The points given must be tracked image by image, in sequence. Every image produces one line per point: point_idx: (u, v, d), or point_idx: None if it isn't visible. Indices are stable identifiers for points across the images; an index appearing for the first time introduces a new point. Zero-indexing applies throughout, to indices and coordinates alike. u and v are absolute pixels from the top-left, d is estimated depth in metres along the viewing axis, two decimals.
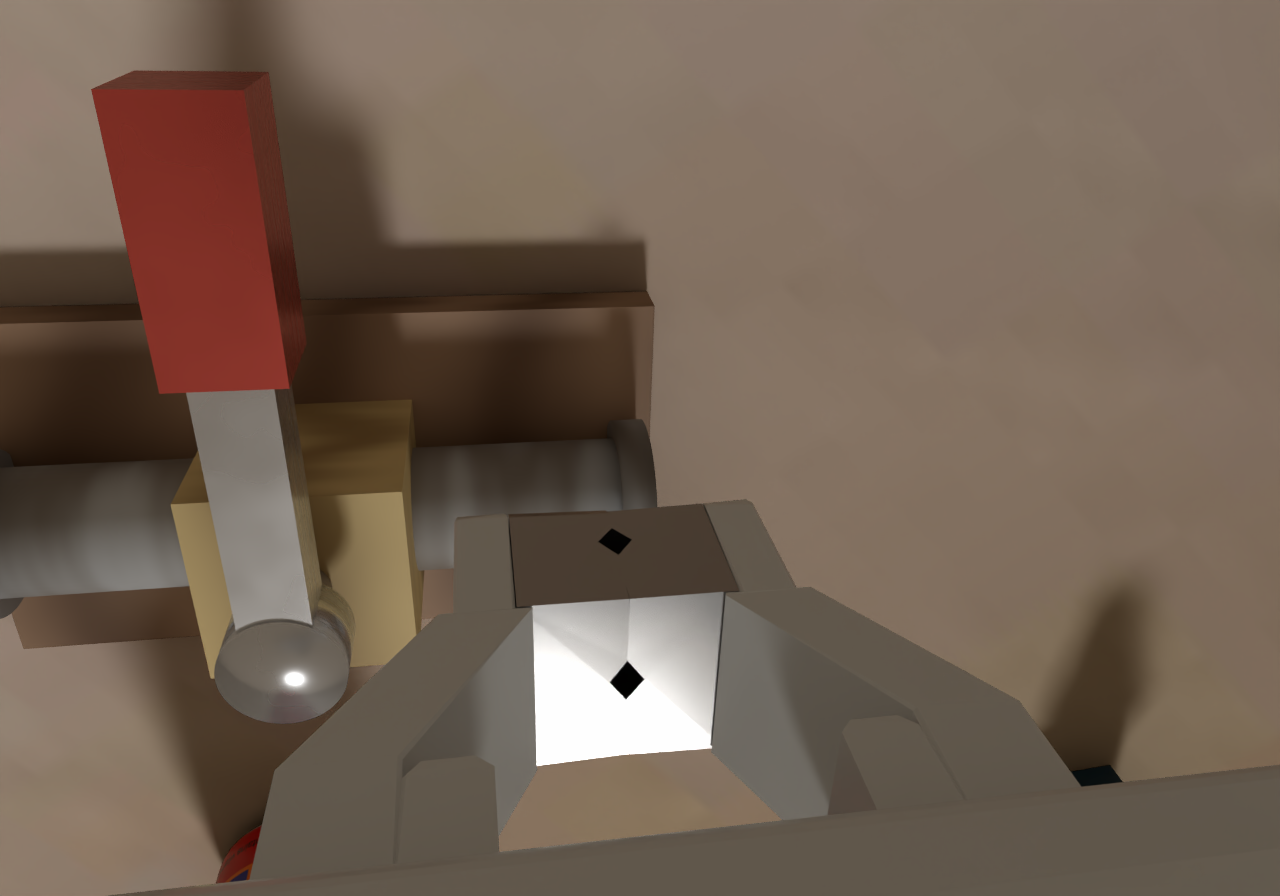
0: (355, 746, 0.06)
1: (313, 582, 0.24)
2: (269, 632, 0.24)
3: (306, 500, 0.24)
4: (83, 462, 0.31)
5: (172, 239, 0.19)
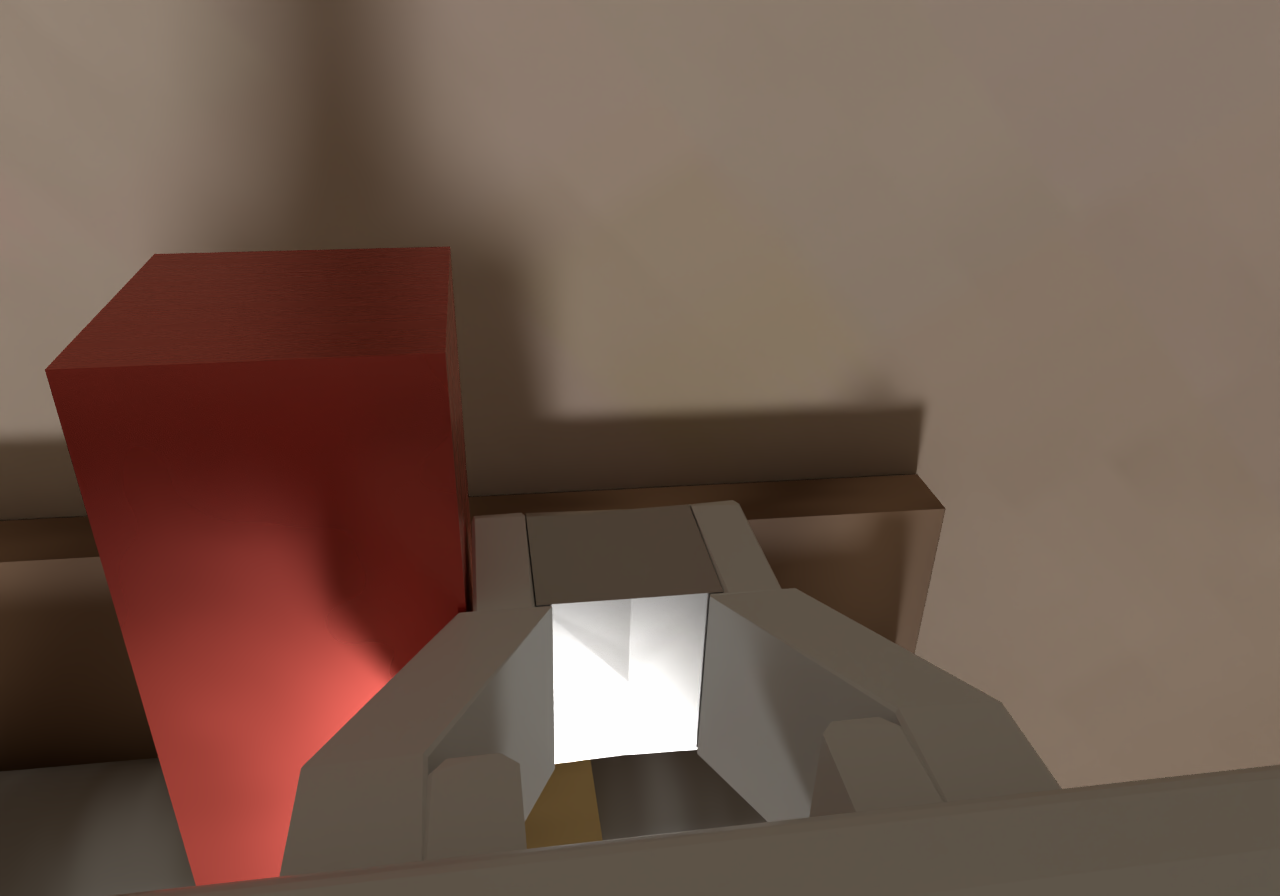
0: (380, 743, 0.06)
1: None
2: None
3: None
4: (72, 750, 0.20)
5: (251, 678, 0.08)
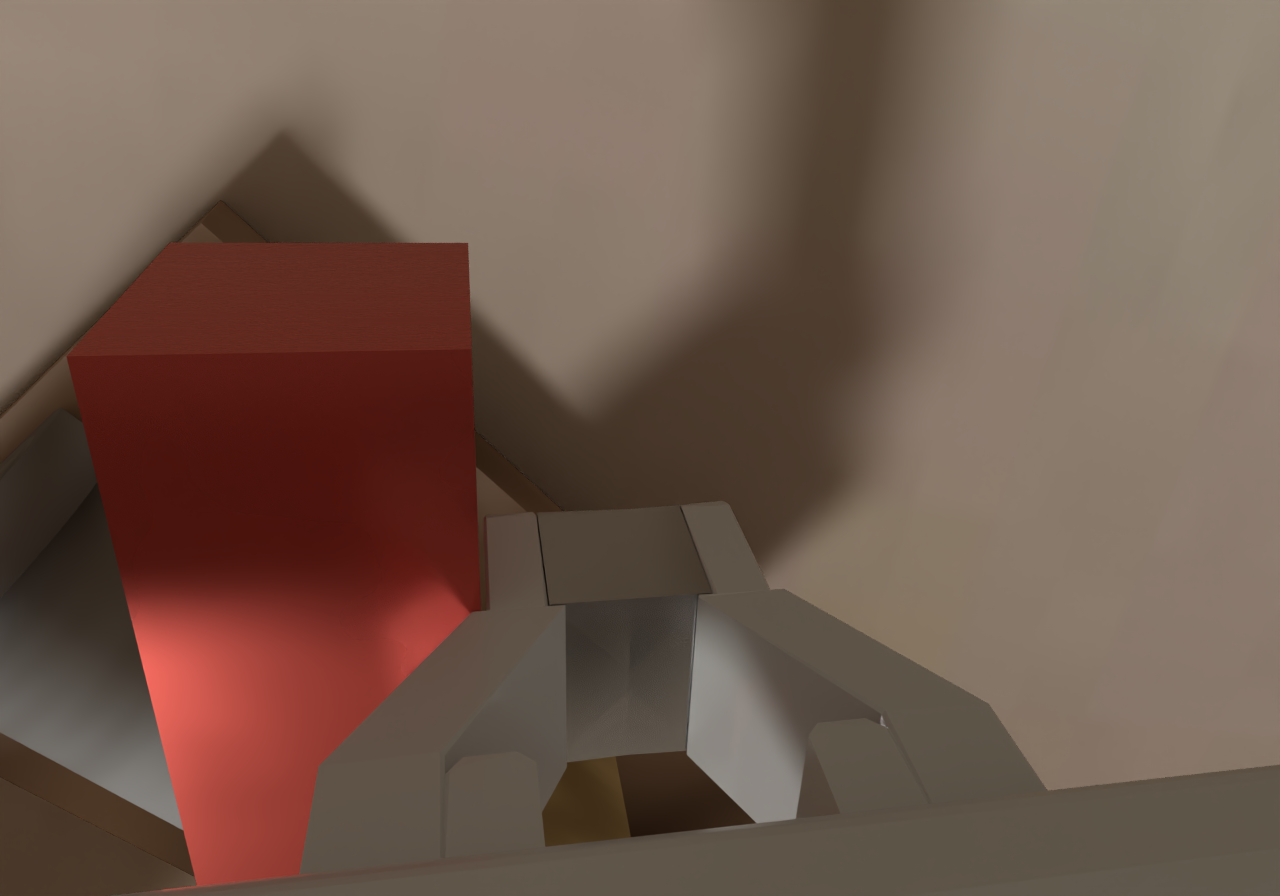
0: (397, 742, 0.06)
1: None
2: None
3: None
4: None
5: (262, 673, 0.08)
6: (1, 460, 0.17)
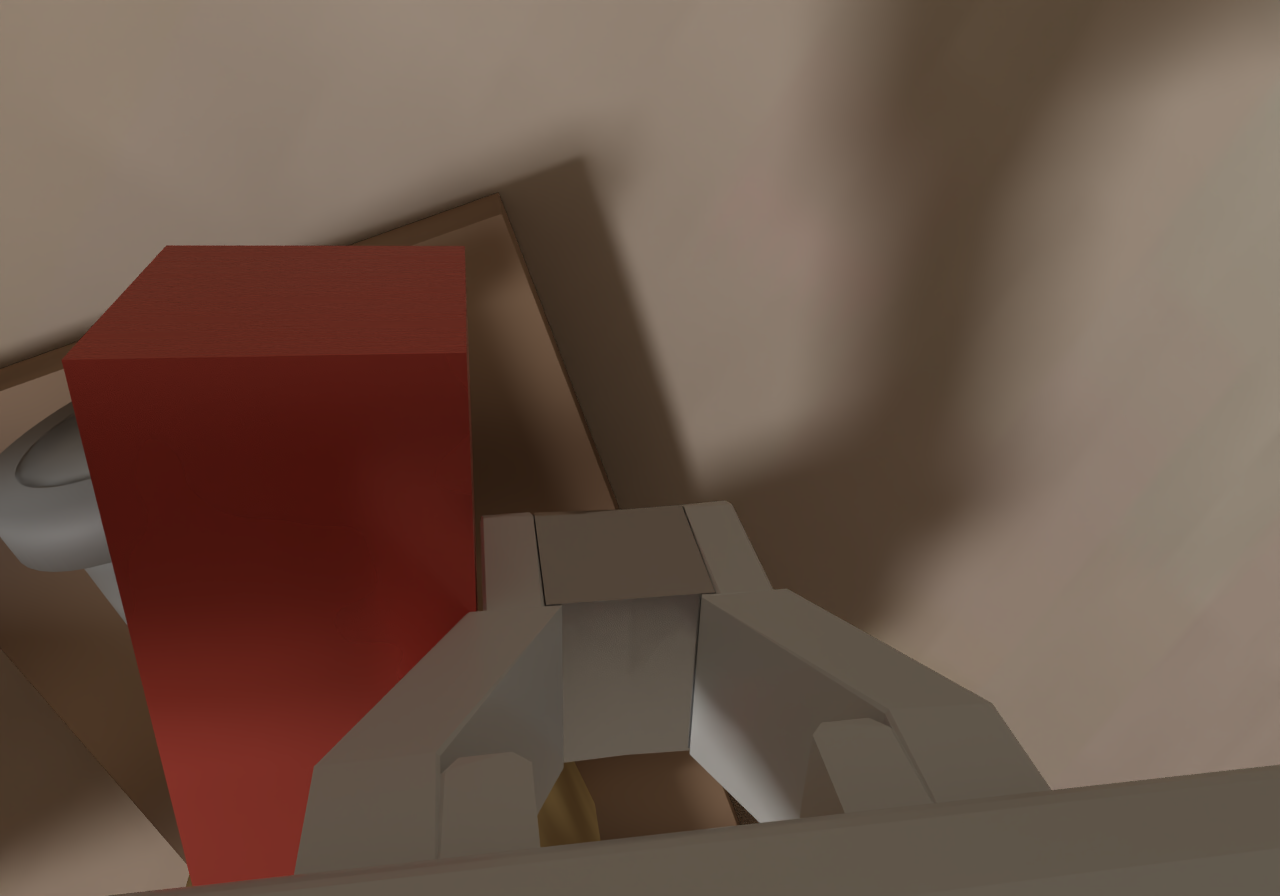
0: (392, 743, 0.06)
1: None
2: None
3: None
4: None
5: (257, 677, 0.08)
6: None
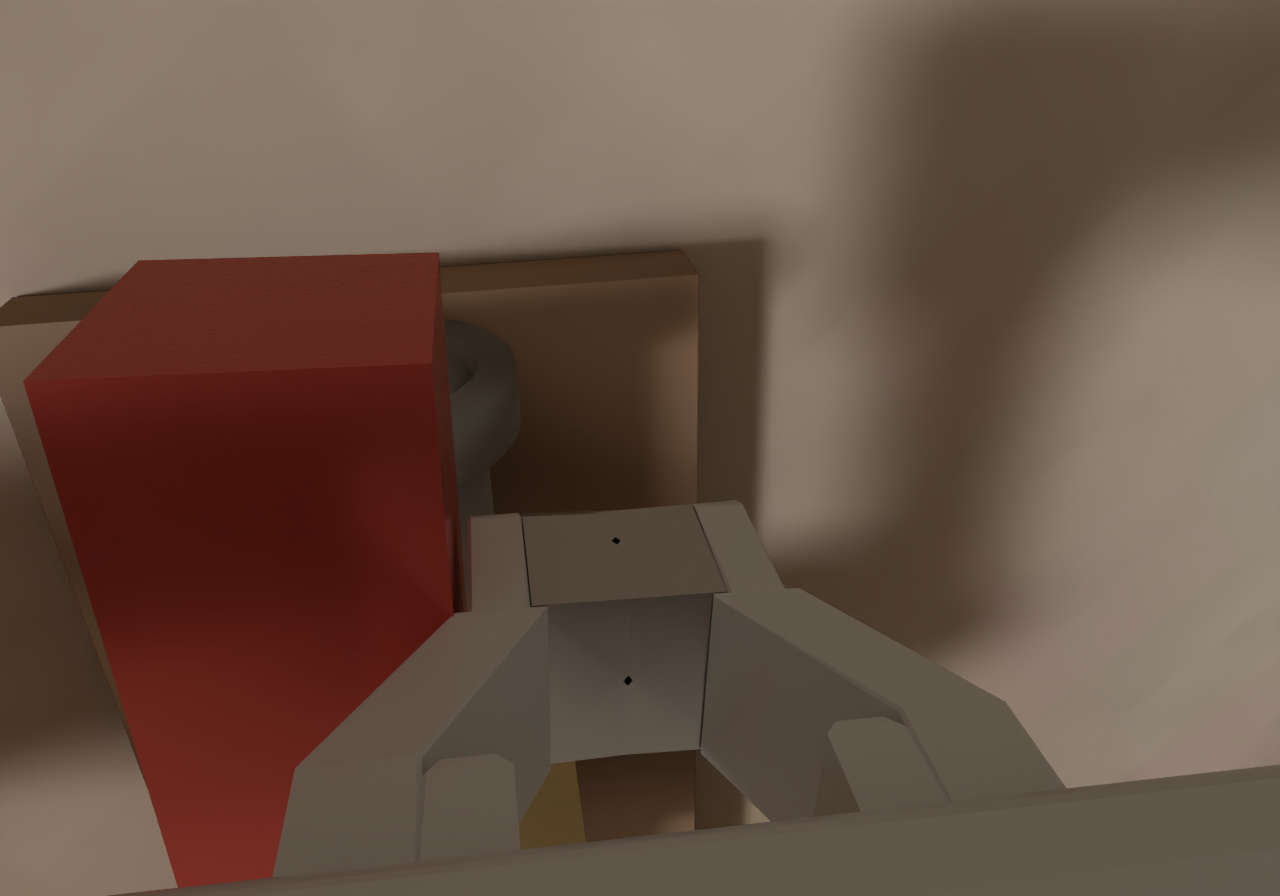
0: (374, 744, 0.06)
1: None
2: None
3: None
4: None
5: (236, 692, 0.08)
6: None
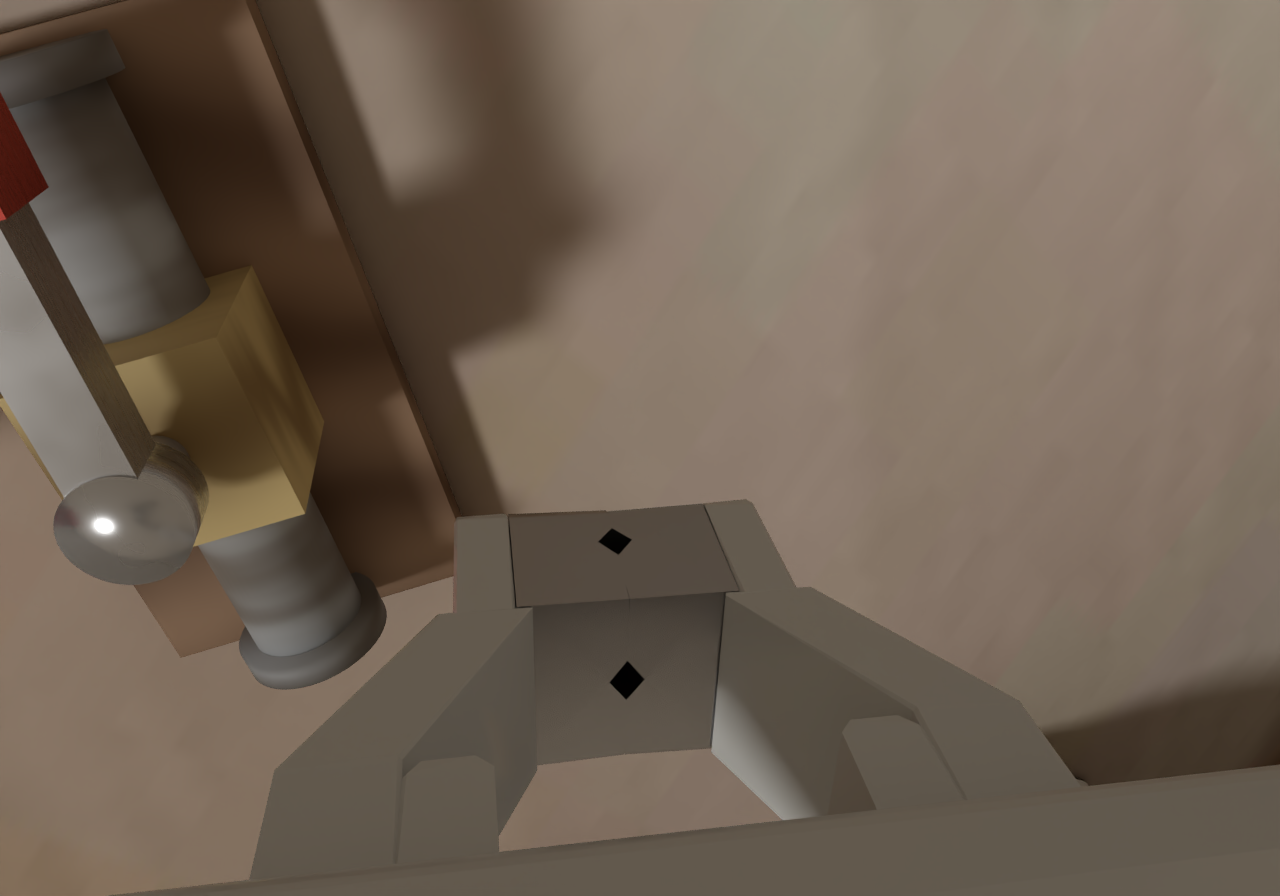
0: (355, 746, 0.06)
1: (131, 435, 0.24)
2: (96, 491, 0.24)
3: (101, 353, 0.24)
4: None
5: None
6: (41, 44, 0.27)
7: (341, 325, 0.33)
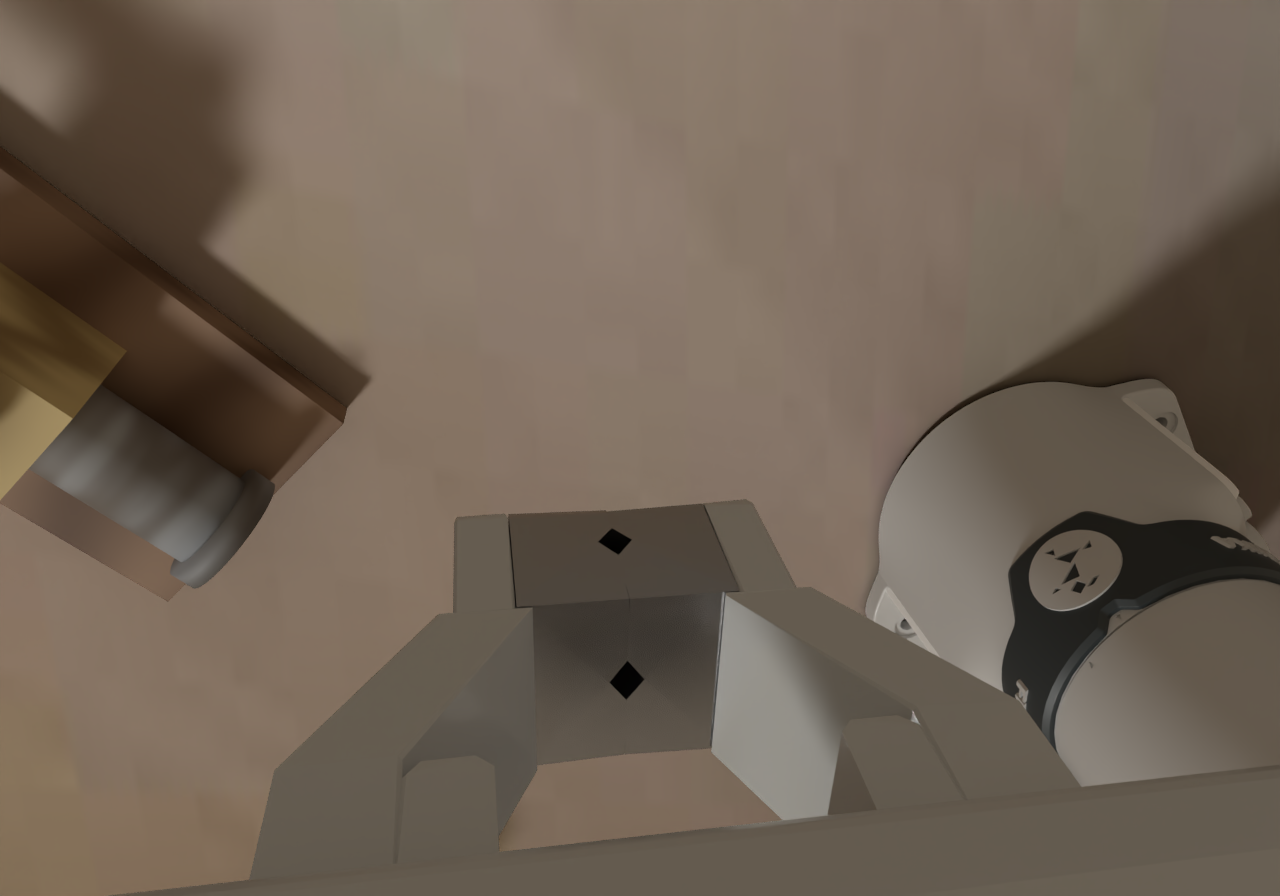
0: (355, 746, 0.06)
1: None
2: None
3: None
4: None
5: None
6: None
7: (79, 260, 0.36)
